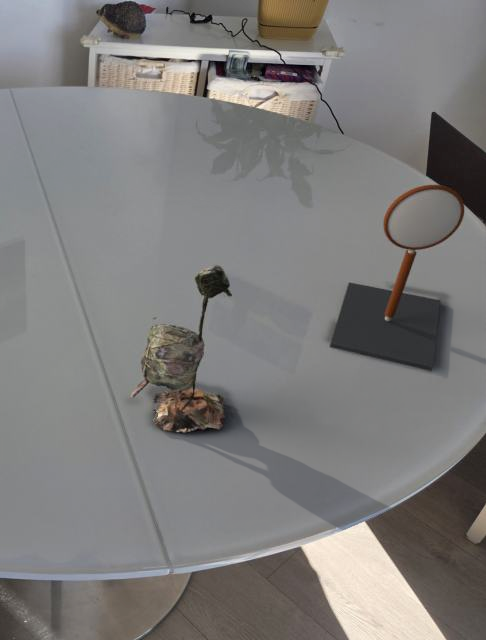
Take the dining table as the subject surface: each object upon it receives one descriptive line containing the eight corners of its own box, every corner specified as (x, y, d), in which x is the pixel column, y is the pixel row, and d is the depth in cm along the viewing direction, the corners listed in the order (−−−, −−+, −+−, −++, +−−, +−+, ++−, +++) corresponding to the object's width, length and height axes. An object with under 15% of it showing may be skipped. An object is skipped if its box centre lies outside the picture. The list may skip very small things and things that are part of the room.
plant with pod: (142, 380, 83) (149, 246, 70) (232, 400, 79) (256, 261, 66) (124, 423, 77) (127, 284, 65) (219, 447, 73) (243, 304, 61)
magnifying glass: (354, 323, 88) (396, 188, 75) (352, 315, 89) (392, 181, 76) (423, 326, 86) (477, 188, 74) (419, 318, 87) (472, 182, 75)
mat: (439, 303, 91) (440, 300, 90) (431, 371, 80) (433, 367, 80) (348, 285, 96) (348, 282, 95) (329, 346, 85) (330, 343, 85)
